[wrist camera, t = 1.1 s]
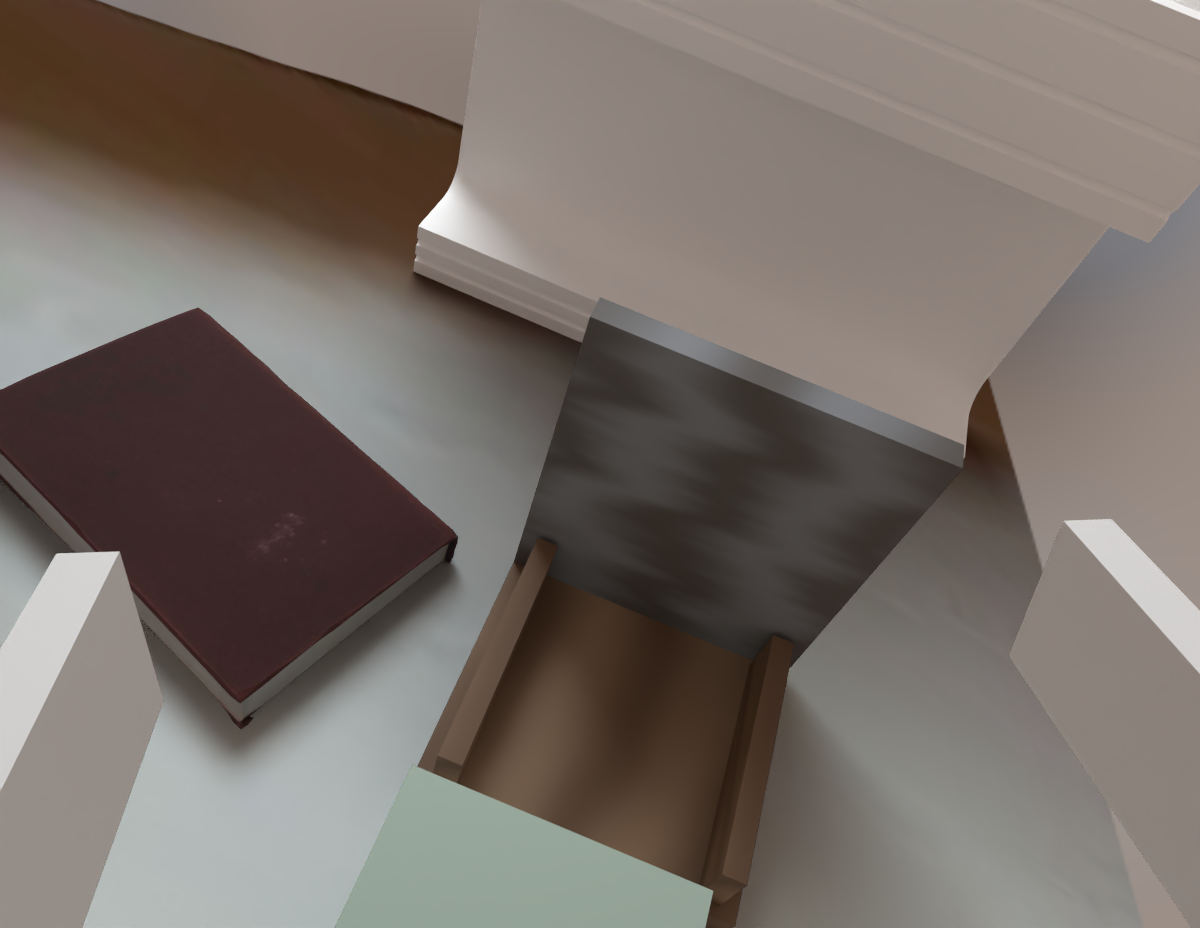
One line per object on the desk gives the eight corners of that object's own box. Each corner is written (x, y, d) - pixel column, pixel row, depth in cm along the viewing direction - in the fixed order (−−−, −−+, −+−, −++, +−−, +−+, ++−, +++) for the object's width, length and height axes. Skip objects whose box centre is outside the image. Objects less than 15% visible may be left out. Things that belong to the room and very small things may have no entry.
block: (944, 408, 62) (1270, -11, 41) (934, 493, 57) (1304, 62, 36) (466, 207, 63) (545, -301, 42) (413, 271, 58) (472, -273, 37)
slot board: (404, 801, 38) (454, 576, 25) (517, 559, 46) (600, 297, 33) (722, 934, 37) (945, 779, 24) (777, 666, 46) (964, 444, 33)
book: (207, 341, 51) (201, 297, 49) (455, 563, 46) (463, 526, 44) (-26, 454, 43) (-47, 408, 41) (240, 735, 38) (235, 702, 36)
